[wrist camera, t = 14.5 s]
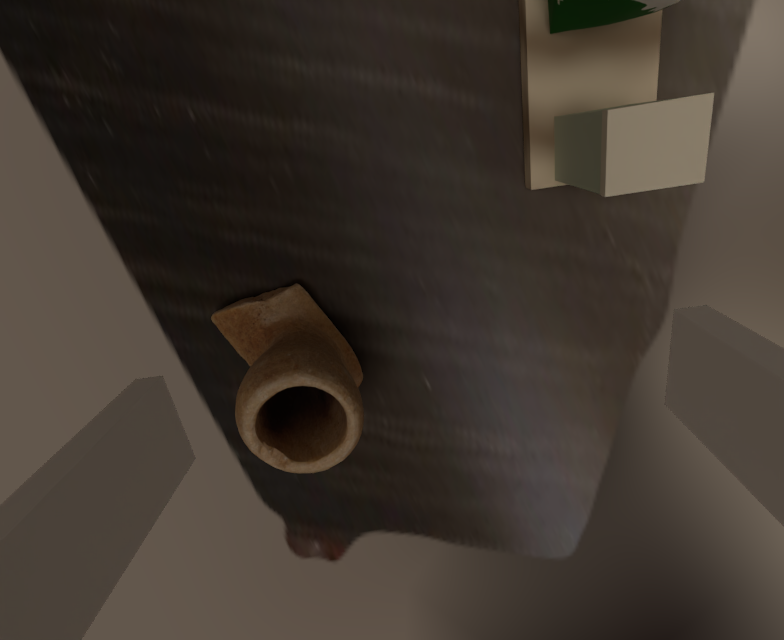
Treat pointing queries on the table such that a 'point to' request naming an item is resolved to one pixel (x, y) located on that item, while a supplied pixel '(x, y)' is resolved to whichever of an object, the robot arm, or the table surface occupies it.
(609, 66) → the shelf board
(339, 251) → the table surface
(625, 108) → the tea tin
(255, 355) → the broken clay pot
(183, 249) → the table surface
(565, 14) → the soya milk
